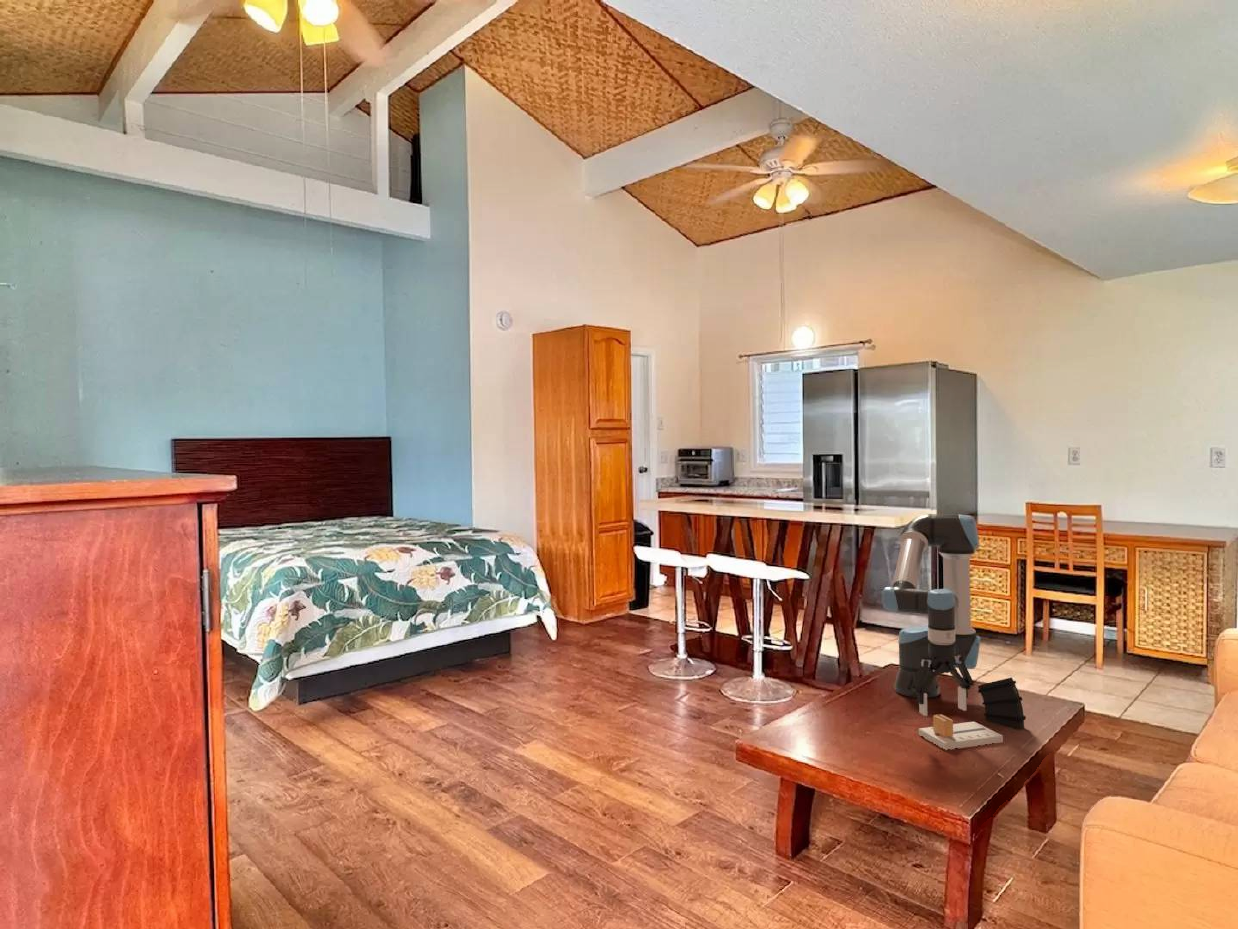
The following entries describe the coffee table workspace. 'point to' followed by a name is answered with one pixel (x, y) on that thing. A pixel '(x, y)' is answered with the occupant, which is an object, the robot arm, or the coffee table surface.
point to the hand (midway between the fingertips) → (942, 711)
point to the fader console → (962, 736)
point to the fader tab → (943, 725)
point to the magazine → (1003, 703)
